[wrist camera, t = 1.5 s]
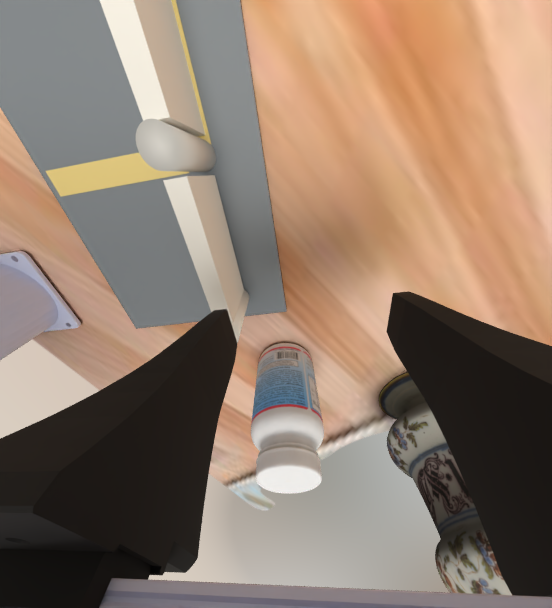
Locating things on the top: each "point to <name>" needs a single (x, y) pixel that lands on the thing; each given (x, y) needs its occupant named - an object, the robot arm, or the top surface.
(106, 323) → the top surface
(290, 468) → the pill bottle
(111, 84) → the board
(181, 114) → the fixed fence section
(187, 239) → the fence panel
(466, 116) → the top surface
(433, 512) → the apothecary jar
